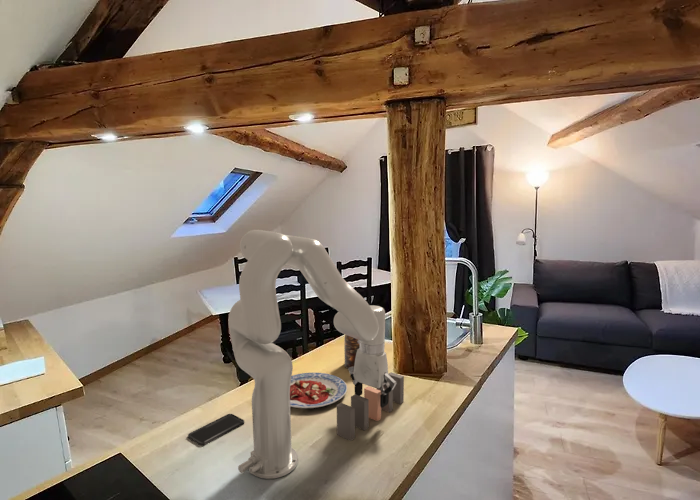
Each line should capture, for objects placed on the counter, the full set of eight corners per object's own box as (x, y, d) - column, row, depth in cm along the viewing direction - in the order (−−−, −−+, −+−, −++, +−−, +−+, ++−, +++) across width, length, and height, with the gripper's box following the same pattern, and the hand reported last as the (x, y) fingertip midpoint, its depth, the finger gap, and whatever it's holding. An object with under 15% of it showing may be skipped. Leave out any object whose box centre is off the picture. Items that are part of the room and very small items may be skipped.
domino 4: (400, 404, 140) (400, 378, 139) (387, 399, 143) (387, 374, 142) (403, 401, 141) (403, 376, 140) (390, 397, 144) (391, 372, 143)
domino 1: (350, 441, 120) (350, 411, 119) (337, 434, 123) (336, 405, 122) (354, 437, 121) (354, 408, 120) (341, 431, 124) (341, 402, 123)
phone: (245, 421, 129) (202, 444, 118) (246, 424, 129) (202, 448, 118) (229, 412, 134) (186, 434, 122) (230, 416, 134) (186, 438, 123)
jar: (379, 367, 169) (379, 330, 166) (354, 374, 162) (354, 336, 160) (362, 357, 179) (362, 323, 176) (338, 363, 172) (338, 328, 170)
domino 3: (389, 412, 135) (389, 385, 134) (376, 407, 138) (376, 381, 137) (392, 409, 136) (392, 383, 135) (379, 405, 139) (379, 379, 138)
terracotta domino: (377, 421, 130) (377, 393, 128) (364, 415, 133) (364, 388, 132) (381, 418, 131) (381, 391, 130) (368, 413, 134) (368, 386, 133)
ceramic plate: (258, 407, 139) (257, 398, 139) (291, 374, 164) (291, 367, 163) (332, 419, 132) (332, 409, 131) (356, 382, 156) (356, 375, 156)
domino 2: (364, 430, 125) (364, 401, 124) (351, 424, 128) (350, 396, 127) (368, 427, 126) (368, 399, 125) (355, 422, 129) (355, 394, 128)
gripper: (342, 343, 131) (341, 396, 133) (389, 357, 120) (387, 414, 123) (357, 337, 137) (356, 388, 139) (403, 350, 126) (401, 405, 128)
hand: (371, 400), depth 131 cm, fingers open, 9 cm apart
